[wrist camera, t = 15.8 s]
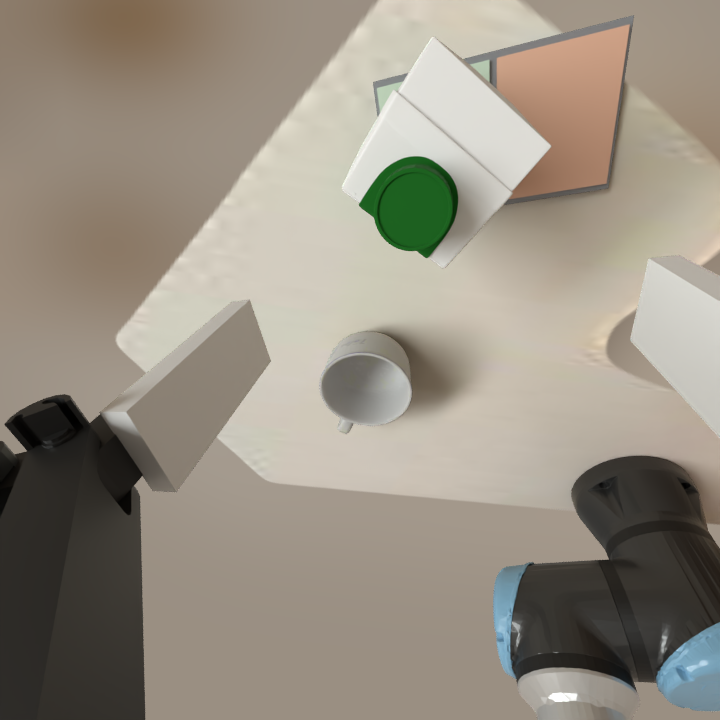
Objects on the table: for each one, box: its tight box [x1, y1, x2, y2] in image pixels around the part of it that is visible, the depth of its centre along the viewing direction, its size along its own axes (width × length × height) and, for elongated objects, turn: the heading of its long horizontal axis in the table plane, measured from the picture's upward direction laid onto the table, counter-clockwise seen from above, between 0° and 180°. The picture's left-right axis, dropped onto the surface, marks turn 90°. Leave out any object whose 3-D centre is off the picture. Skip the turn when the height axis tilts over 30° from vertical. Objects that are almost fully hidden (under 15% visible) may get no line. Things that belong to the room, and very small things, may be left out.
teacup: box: [319, 331, 412, 434], centre depth 46 cm, size 14×11×8 cm
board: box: [373, 16, 634, 205], centre depth 33 cm, size 12×20×1 cm, turn 101°
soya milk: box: [342, 36, 551, 268], centre depth 25 cm, size 9×9×20 cm
